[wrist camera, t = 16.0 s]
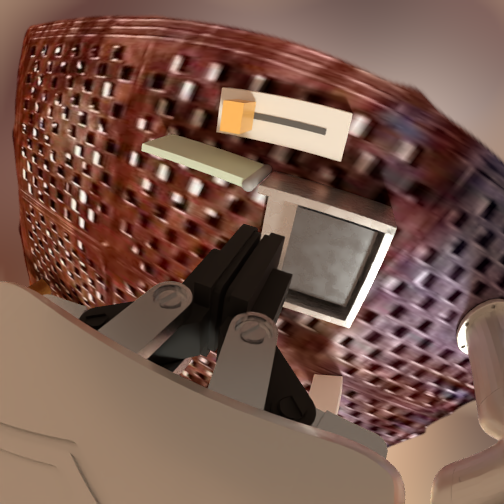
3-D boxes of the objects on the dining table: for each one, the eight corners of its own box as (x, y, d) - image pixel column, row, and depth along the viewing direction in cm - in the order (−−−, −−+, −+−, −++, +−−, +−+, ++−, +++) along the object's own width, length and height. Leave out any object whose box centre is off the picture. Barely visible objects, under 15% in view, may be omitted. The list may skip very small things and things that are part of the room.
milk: (315, 389, 58) (287, 479, 40) (314, 373, 55) (283, 470, 37) (342, 391, 55) (319, 484, 38) (343, 375, 53) (319, 476, 35)
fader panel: (352, 113, 30) (352, 113, 29) (341, 158, 34) (340, 162, 32) (228, 87, 34) (221, 87, 32) (223, 129, 37) (216, 132, 35)
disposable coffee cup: (45, 275, 78) (20, 295, 68) (57, 299, 82) (35, 319, 72) (35, 274, 82) (12, 293, 72) (47, 296, 86) (25, 315, 76)
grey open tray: (391, 206, 34) (396, 228, 29) (352, 299, 43) (349, 328, 38) (274, 170, 37) (259, 185, 32) (256, 267, 46) (241, 292, 41)
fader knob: (256, 101, 31) (244, 103, 28) (251, 129, 33) (239, 134, 30) (237, 98, 32) (223, 100, 29) (233, 126, 34) (219, 130, 31)
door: (270, 175, 38) (252, 193, 32) (171, 141, 40) (140, 152, 34) (273, 166, 37) (255, 182, 31) (172, 132, 39) (141, 142, 33)
